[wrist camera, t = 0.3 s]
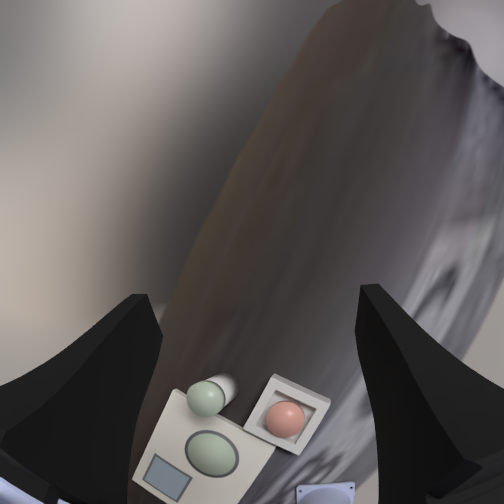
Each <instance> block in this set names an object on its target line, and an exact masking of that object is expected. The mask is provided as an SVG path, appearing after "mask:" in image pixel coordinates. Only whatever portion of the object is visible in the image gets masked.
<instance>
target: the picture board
mask: <svg viewBox="0 0 504 504" xmlns="http://www.w3.org/2000/svg"><path fill="white" fill-rule="evenodd" d="M186 396H187V395H186V394H184V393H182V392H181V391H179V390H178V389H174V390H173V391H172V393H171V395H170V398H169V400H168V402H167V404H166V406H165V408H164V410H163V413H162V415H161V417H160V419H159V421H158V423H157V426H156V428H155V430H154V432H153V434H152V436H151V439H150V441H149V443H148V445H147V447H146V449H145V452H144V454H143V456H142V458H141V460H140V463H139V465H138V467H137V469H136V471H135V474H134V476H133V478H132V480H134V481H135V482H137V483H138V484H139V485H141V486H142V487H143V488H145V489H146V490H148V491H149V492H151V493H152V494H154V495H155V496H157V497H158V498H160V499H161V500H163V501H164V502H166V503H167V504H238V502H239V501H240V499H241V498H242V497H243V495H244V494H245V493H246V491H247V490H248V488H249V487H250V486H251V484H252V483H253V481H254V480H255V478H256V477H257V476H258V474H259V473H260V471H261V470H262V468H263V467H264V465H265V464H266V462H267V461H268V459H269V458H270V456H271V455H272V453H273V451H274V450H275V448H276V446H277V445H275V444H273V443H270V442H268V441H266V440H264V439H262V438H260V437H258V436H256V435H254V434H252V433H250V432H248V431H246V430H244V429H243V427H241V426H239V425H237V424H235V423H233V422H232V421H230V420H228V419H226V418H224V417H223V416H221V415H219V414H216V415H214V416H212V417H201V416H198V415H196V414H195V413H194V412H192V410H191V409H190V408H189V406H188V404H187V399H186Z"/></svg>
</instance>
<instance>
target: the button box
mask: <svg viewBox="0 0 504 504" xmlns="http://www.w3.org/2000/svg"><path fill="white" fill-rule="evenodd" d="M280 401H292V402H295V403H297V404H298V405H299V406H300V407H301V408H302V409H303V411H304V415H305V420H304V425H303V427H302V429H301V430H300V431H299V432H298V433H297V434H296V435H294V436H291V437H279V436H276V435H274V434H273V433H272V432H270V430H269V429H268V428H267V425H266V421H265V420H266V414H267V412H268V411H269V409H270V408H271V407H272V406H273V405H274V404H275V403H277V402H280ZM330 405H331V403H330V399H329V398H326V397H324V396H322V395H319V394H317V393H315V392H313V391H311V390H308V389H306V388H304V387H302V386H300V385H298V384H296V383H293V382H291V381H289V380H287V379H285V378H283V377H281V376H279V375H277V374H275V373H274V374H273V376H272V377H271V378H270V380H269V382H268V384H267V386H266V388H265V390H264V391H263V393H262V395H261V397H260V399H259V401H258V402H257V404H256V406H255V408H254V410H253V411H252V413H251V415H250V417H249V418H248V420H247V422H246V424H245V426H244V427H243V429H244V430H246V431H248V432H250V433H252V434H254V435H256V436H258V437H260V438H262V439H264V440H266V441H268V442H270V443H273V444H275V445H277V446H279V447H281V448H283V449H286V450H288V451H290V452H292V453H294V454H297V455H300V453H301V452H302V450H303V449H304V447H305V446H306V444H307V443H308V441H309V440H310V438H311V436H312V435H313V433H314V432H315V430H316V428H317V427H318V425H319V423H320V422H321V420H322V418H323V417H324V415H325V413H326V412H327V410H328V408H329V406H330Z"/></svg>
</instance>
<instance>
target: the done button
mask: <svg viewBox="0 0 504 504" xmlns="http://www.w3.org/2000/svg"><path fill="white" fill-rule="evenodd" d="M304 420H305V415H304V411H303V409H302V408H301V407H300V406H299V405H298V404H297V403H295V402H292V401H280V402H277V403H275V404H274V405H273V406H272V407H271V408H270V409H269V411H268V412H267V414H266V420H265V421H266V425H267V428H268V429H269V430H270V432H272V433H273V434H274V435H276V436H279V437H291V436H294V435H296V434H297V433H298V432H299V431H300V430H301V429H302V427H303V425H304Z"/></svg>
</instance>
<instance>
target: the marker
mask: <svg viewBox="0 0 504 504" xmlns="http://www.w3.org/2000/svg"><path fill="white" fill-rule="evenodd" d="M238 392H239V385H238V382H237V380H236V379H235V378H234V377H233V376H231V375H230V374H227V373H220V374H217V375H215V376H213V377H211V378H209V379H207V380H204V381H200V382H198V383H196V384H194V385H192V386H191V387H190V388H189V390H188V392H187V396H186V399H187V404H188V406H189V408H190V409H191V410H192V412H194V413H195V414H196V415H198V416H201V417H212V416H214V415H216V414H217V413H218V412H219V411H221V410H222V409H223V407H224V406H225V405H227V404H228V403H229V402H230V401H232V400H233V399H234V398H235V397H236V396H237V394H238Z"/></svg>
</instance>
